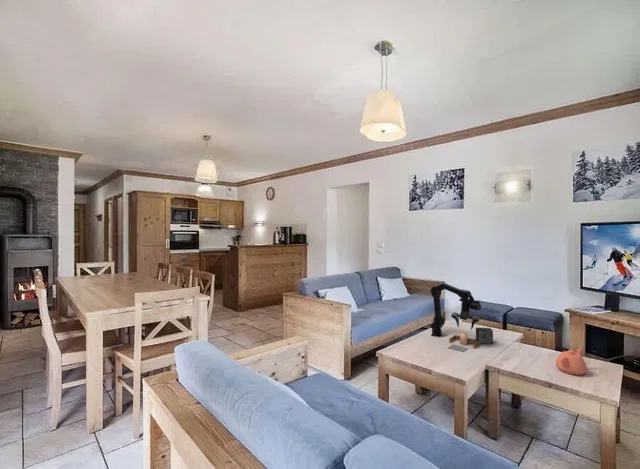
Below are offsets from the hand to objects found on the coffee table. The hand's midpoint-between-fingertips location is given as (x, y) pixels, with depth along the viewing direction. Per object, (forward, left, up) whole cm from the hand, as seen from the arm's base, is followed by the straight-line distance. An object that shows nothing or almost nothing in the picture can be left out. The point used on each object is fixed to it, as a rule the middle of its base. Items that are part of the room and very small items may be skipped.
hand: (464, 328), depth 240 cm
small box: (+10, +14, -12) cm, 21 cm away
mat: (0, -12, -12) cm, 17 cm away
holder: (0, +1, -12) cm, 12 cm away
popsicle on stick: (0, 0, -12) cm, 12 cm away
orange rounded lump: (+64, -2, -12) cm, 65 cm away
